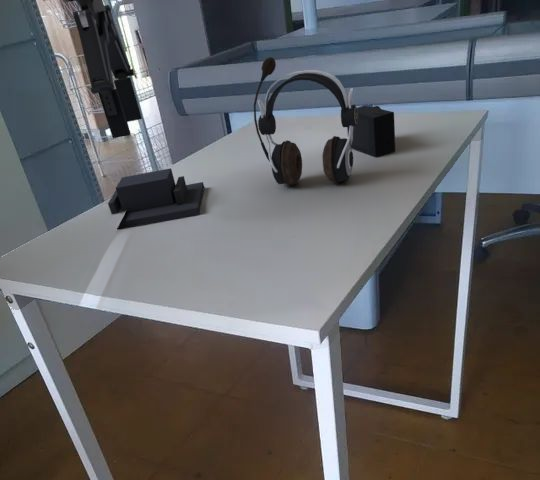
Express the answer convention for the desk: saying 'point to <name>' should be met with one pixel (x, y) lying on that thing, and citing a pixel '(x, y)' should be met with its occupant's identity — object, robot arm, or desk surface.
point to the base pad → (183, 207)
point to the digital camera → (374, 131)
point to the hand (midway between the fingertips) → (128, 127)
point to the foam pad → (146, 190)
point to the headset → (288, 154)
